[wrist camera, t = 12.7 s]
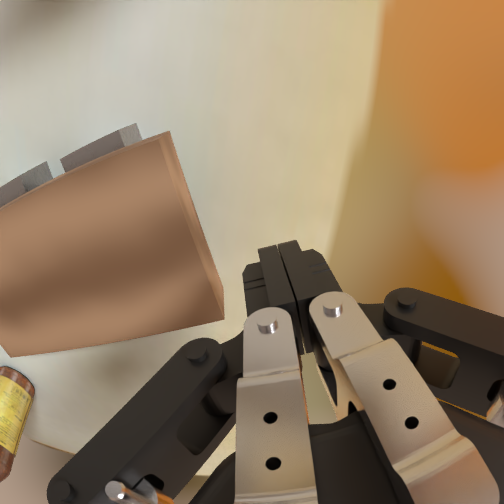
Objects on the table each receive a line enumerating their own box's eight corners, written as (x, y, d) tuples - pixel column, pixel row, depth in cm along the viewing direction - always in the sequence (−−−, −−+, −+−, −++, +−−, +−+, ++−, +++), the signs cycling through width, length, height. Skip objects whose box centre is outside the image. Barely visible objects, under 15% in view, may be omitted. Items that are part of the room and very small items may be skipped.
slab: (-37, 231, 15) (-59, 250, 13) (169, 130, 14) (158, 139, 12) (24, 332, 20) (10, 357, 17) (223, 287, 19) (224, 319, 17)
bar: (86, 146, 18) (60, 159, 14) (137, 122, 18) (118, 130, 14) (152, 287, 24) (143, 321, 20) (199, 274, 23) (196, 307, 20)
